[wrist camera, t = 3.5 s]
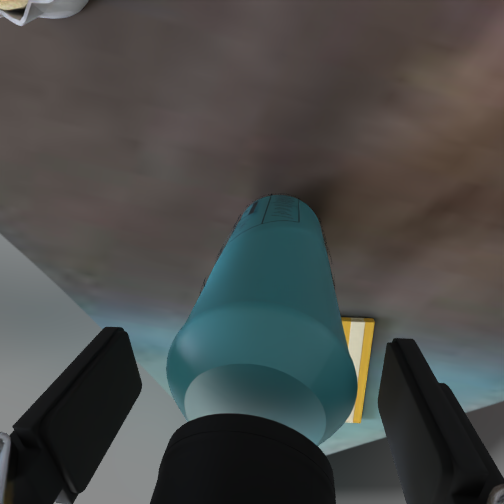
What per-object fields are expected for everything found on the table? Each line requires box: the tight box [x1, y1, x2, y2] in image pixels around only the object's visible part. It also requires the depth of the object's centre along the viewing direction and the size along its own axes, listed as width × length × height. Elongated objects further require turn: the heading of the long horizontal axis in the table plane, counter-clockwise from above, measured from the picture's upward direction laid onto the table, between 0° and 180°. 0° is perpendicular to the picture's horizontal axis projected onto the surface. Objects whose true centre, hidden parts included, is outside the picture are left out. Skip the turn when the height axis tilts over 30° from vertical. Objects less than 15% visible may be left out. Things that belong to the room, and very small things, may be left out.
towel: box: [341, 317, 375, 423], centre depth 29 cm, size 16×13×1 cm
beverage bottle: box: [150, 194, 358, 504], centre depth 14 cm, size 6×7×20 cm
